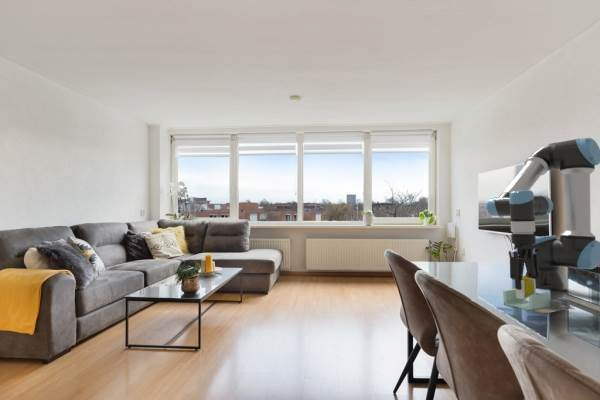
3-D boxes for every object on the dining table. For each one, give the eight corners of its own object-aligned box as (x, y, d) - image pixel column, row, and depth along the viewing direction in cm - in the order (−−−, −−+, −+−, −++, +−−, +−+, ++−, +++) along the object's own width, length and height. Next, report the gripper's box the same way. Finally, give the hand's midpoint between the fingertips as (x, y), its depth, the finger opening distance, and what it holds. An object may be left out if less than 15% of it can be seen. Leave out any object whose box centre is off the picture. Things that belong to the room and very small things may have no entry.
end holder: (521, 300, 135) (520, 287, 135) (550, 306, 125) (549, 292, 125) (503, 304, 131) (503, 290, 131) (532, 311, 121) (531, 296, 121)
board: (535, 301, 137) (535, 298, 137) (574, 310, 125) (574, 306, 125) (506, 307, 130) (505, 304, 130) (544, 317, 118) (544, 313, 118)
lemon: (520, 299, 126) (519, 277, 126) (514, 295, 131) (513, 274, 132) (537, 300, 125) (536, 277, 125) (530, 296, 130) (529, 274, 131)
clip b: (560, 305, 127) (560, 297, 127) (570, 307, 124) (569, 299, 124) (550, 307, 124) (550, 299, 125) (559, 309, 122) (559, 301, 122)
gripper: (529, 231, 136) (532, 292, 135) (496, 233, 128) (499, 298, 128) (549, 232, 129) (553, 296, 128) (516, 234, 122) (519, 303, 121)
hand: (526, 297), depth 128 cm, fingers closed on lemon, 5 cm apart
